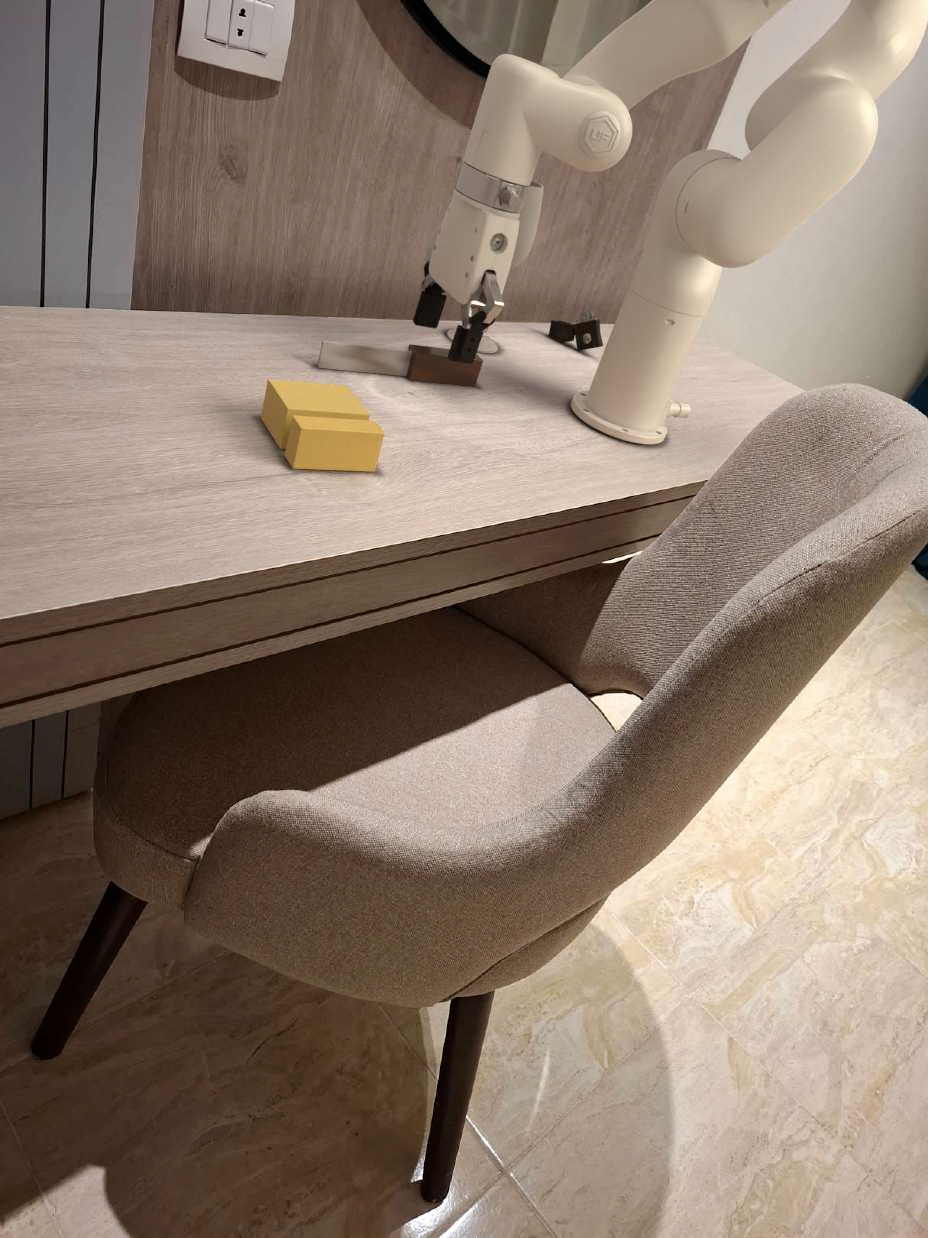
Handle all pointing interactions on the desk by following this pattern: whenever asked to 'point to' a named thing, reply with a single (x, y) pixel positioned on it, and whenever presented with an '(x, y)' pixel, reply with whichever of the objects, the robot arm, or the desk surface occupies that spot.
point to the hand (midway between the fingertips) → (441, 343)
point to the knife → (400, 362)
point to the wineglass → (519, 244)
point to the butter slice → (333, 444)
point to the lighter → (578, 332)
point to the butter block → (306, 405)
